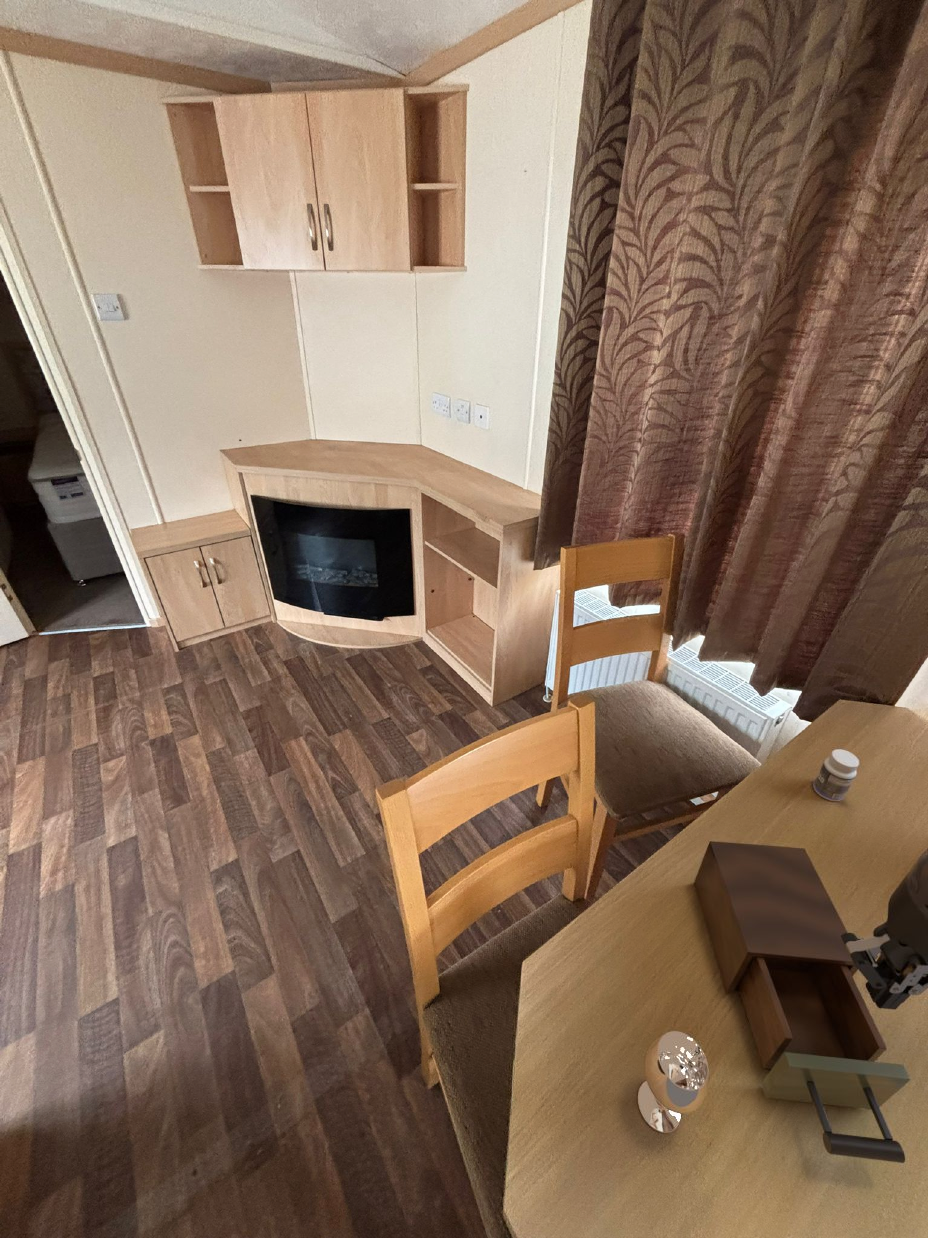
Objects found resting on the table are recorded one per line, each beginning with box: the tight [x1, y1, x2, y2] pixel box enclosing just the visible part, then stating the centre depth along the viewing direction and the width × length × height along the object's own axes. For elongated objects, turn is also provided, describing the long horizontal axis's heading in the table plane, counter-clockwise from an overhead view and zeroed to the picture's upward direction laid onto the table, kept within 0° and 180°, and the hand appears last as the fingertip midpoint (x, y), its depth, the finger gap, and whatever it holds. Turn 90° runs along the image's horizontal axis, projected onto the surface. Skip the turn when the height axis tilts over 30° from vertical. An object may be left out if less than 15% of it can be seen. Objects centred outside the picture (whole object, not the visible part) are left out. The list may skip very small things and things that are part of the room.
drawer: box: [738, 956, 911, 1164], centre depth 57 cm, size 19×11×8 cm, turn 175°
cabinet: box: [693, 840, 859, 996], centre depth 69 cm, size 15×13×10 cm
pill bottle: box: [812, 748, 860, 802], centre depth 90 cm, size 5×5×8 cm
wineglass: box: [637, 1030, 710, 1134], centre depth 54 cm, size 6×6×12 cm
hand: (880, 998), depth 53 cm, fingers closed
